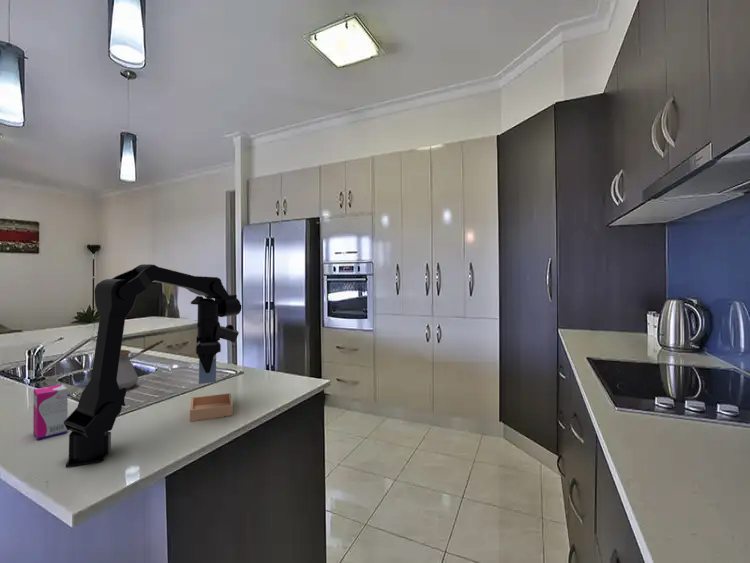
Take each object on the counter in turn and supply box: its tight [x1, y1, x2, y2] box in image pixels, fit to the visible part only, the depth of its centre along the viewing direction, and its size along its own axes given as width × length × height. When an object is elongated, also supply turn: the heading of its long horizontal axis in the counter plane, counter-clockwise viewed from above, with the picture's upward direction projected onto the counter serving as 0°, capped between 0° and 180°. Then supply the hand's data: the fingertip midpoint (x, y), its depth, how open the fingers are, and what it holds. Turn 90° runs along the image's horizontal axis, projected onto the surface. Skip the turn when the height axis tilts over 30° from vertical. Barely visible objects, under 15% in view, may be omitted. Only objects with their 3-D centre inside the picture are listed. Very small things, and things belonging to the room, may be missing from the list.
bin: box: [189, 393, 234, 422], centre depth 106 cm, size 11×11×3 cm
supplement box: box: [32, 383, 69, 441], centre depth 89 cm, size 6×6×12 cm
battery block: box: [198, 354, 217, 385], centre depth 106 cm, size 4×4×8 cm
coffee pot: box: [117, 339, 166, 391], centre depth 128 cm, size 21×12×15 cm, turn 149°
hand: (207, 370), depth 106 cm, fingers closed on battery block, 4 cm apart
